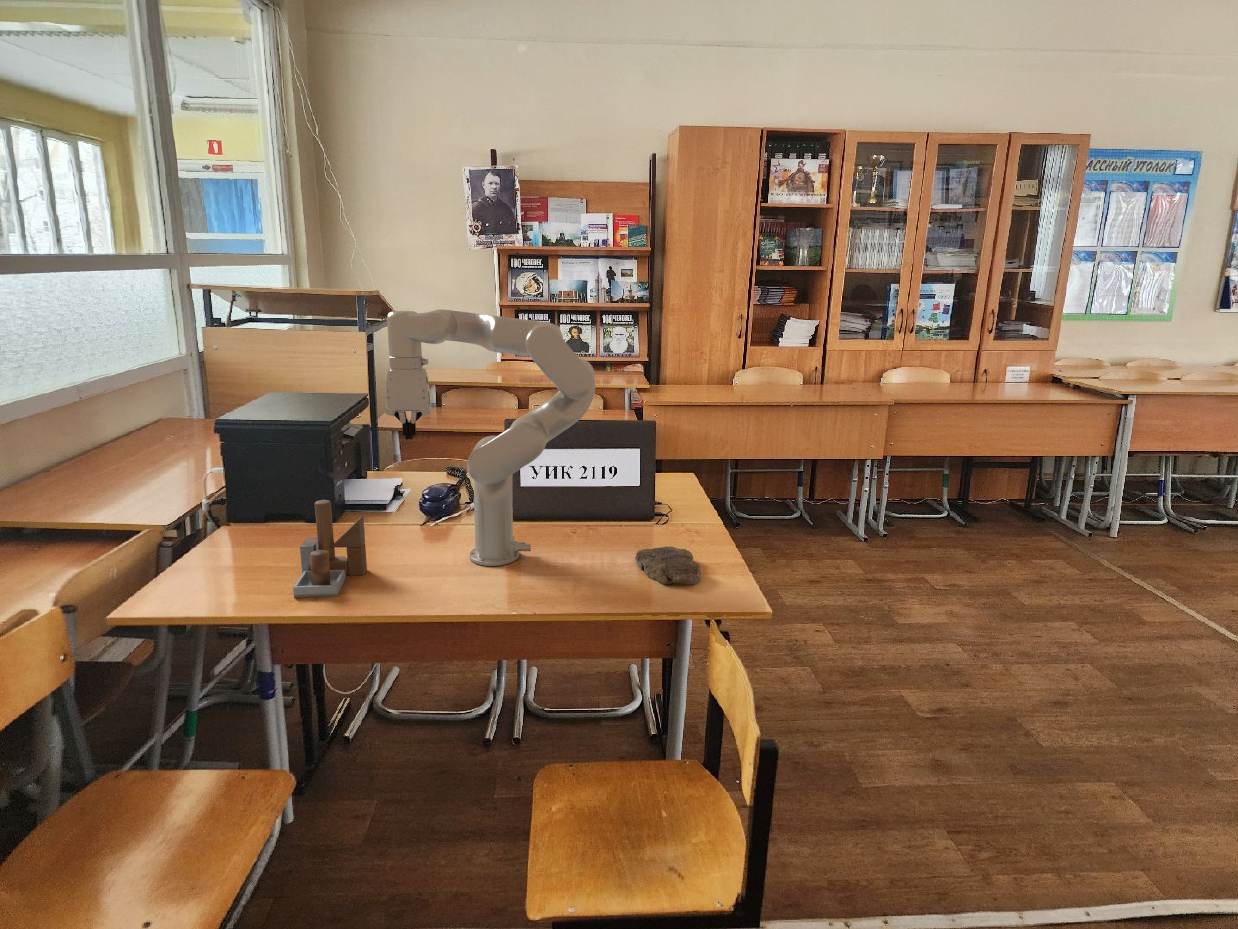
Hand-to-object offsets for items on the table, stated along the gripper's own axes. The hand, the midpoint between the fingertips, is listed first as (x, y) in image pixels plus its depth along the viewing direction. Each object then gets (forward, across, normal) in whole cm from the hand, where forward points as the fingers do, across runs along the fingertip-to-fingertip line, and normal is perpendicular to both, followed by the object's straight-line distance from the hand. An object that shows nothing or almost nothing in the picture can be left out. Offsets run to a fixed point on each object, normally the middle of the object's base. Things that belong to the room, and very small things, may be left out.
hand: (409, 438), depth 183 cm
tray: (+31, +19, +18) cm, 41 cm away
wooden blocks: (+31, +16, +9) cm, 36 cm away
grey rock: (+32, -64, +16) cm, 73 cm away
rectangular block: (+31, +23, +9) cm, 40 cm away
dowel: (+30, +19, +18) cm, 40 cm away
